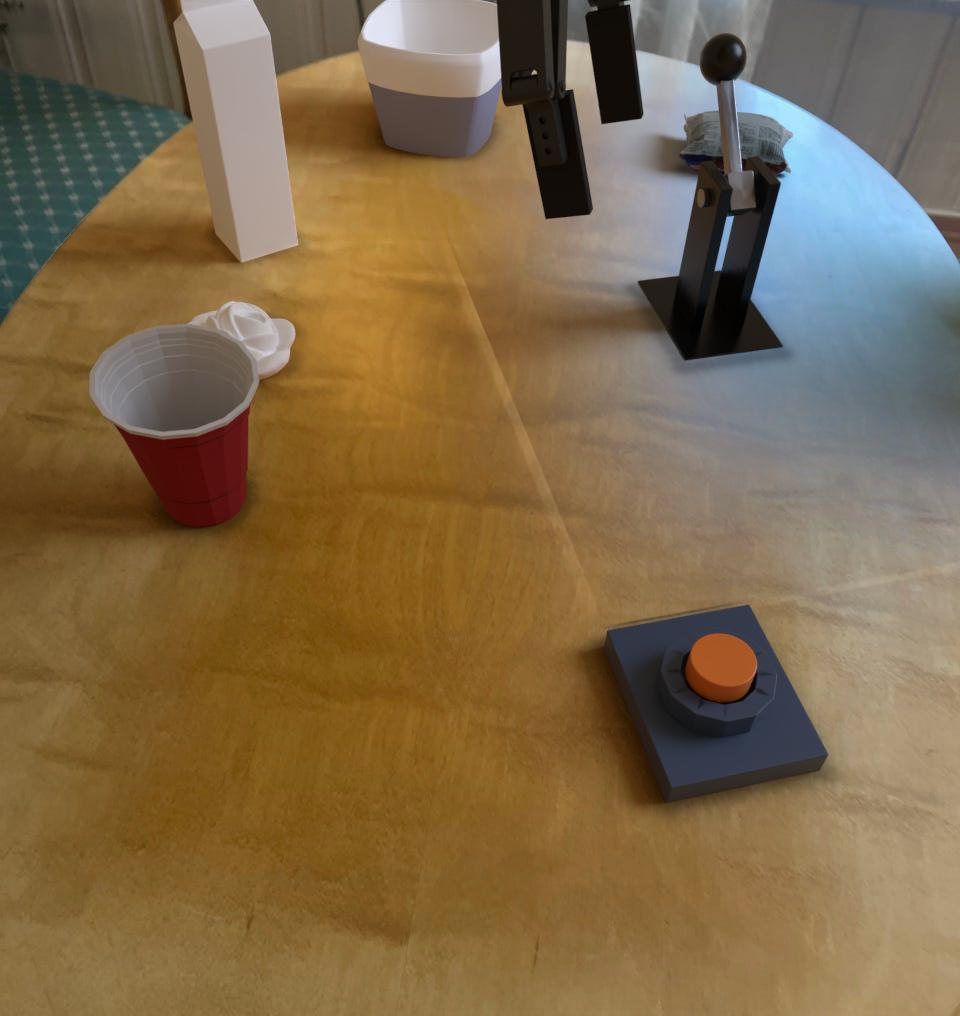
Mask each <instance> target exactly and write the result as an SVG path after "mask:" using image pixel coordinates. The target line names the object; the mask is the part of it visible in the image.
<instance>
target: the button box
mask: <svg viewBox="0 0 960 1016" xmlns="http://www.w3.org/2000/svg"><path fill="white" fill-rule="evenodd" d="M718 633H720V634H728V635H731V636H734V637H737V638H739V639H740V640H742V641H744V642H745V643H746V644H747V645H748V646H749V647H750V648H751V649H752V651H753V652H754V654H755V656H756V660H757V670H756V673H755V676H754V678H753V681H752V683H751V686H750V688H749V690H748V691H747V693H746V694H745V695H744V696H743V697H741V698H739V699H738V700H735V701H732V702H726V703H721V702H714V701H710V700H707V699H705V698H703V697H701V696H700V695H698V694H697V693H696V692H695V691H694V690H693V689H692V688H691V687H690V685H689V684H688V682H687V679H686V675H685V668H686V664H687V661H688V658H689V655H690V651H691V648H692V646H693V645H694V643H695V642H696V641H697V640H699V639H700V638H702V637H704V636H706V635H710V634H718ZM603 650H604V653H605V655H606V658H607V660H608V661H609V662H608V663H609V666H610V667H611V669H612V672H613V674H614V678H615V680H616V682H617V684H618V687H619V690H620V692H621V695H622V697H623V700H624V702H625V705H626V707H627V710H628V713H629V715H630V717H631V720H632V722H633V725H634V727H635V730H636V732H637V734H638V737H639V739H640V742H641V744H642V747H643V750H644V752H645V755H646V757H647V760H648V762H649V765H650V767H651V770H652V772H653V775H654V777H655V780H656V782H657V784H658V787H659V789H660V792H661V794H662V797H663V800H664V802H665V803H666V804H669V803H675V802H678V801H683V800H689V799H692V798H698V797H702V796H707V795H711V794H715V793H721V792H726V791H731V790H735V789H739V788H745V787H749V786H755V785H758V784H762V783H768V782H772V781H777V780H781V779H782V780H783V779H786V778H790V777H792V778H793V777H795V776H801V775H805V774H809V773H815V772H818V771H819V772H820V771H821V769H822V767H823V766H824V764H825V762H826V760H827V758H828V756H829V752H828V751H827V748H826V747H825V745H824V743H823V741H822V738H821V737H820V735H819V734H818V732H817V730H816V728H815V726H814V724H813V722H812V720H811V719H810V716H809V714H808V713H807V710H806V709H805V707H804V705H803V703H802V702H801V699H800V698H799V696H798V693H797V692H796V690H795V689H794V687H793V685H792V683H791V680H790V678H789V676H788V675H787V673H786V672H785V670H784V667H783V665H782V663H781V661H780V660H779V658H778V656H777V654H776V653H775V651H774V649H773V647H772V644H771V643H770V641H769V639H768V637H767V636H766V634H765V631H764V630H763V628H762V626H761V624H760V622H759V620H758V618H757V617H756V614H755V613H754V611H753V609H752V607H751V605H750V604H744V605H738V606H733V607H728V608H722V609H716V610H711V611H705V612H700V613H695V614H689V615H684V616H678V617H673V618H666V619H662V620H656V621H650V622H646V623H640V624H634V625H628V626H623V627H617V628H612V629H608V630H606V633H605V639H604V645H603Z"/></svg>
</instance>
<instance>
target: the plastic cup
mask: <svg viewBox="0 0 960 1016" xmlns="http://www.w3.org/2000/svg"><path fill="white" fill-rule="evenodd" d="M259 384H260V380H259V375H258V368H257V361H256V359H255V358H254V356H253V355H252V354H251V353H250V352H249V350H248V349H247V348H246V347H245V345H244V344H243V343H242V342H241V341H239V340H237V339H235V338H233V337H231V336H229V335H228V334H226V333H224V332H222V331H220V330H218V329H214V328H208V327H203V326H197V325H192V324H187V323H179V324H178V323H177V324H164V325H163V324H162V325H154V326H151V327H148V328H145V329H142V330H139V331H136V332H133V333H130V334H127V335H125V336H124V337H123V336H122V338H120V339H119V340H117V341H116V342H114V343H113V344H112V345H110V346H109V347H108V348H106V349H105V350H104V351H102V352H101V354H100V356H99V357H98V358H97V361H96V362H95V364H94V366H93V367H92V368H91V370H90V372H89V397H90V398H91V400H92V401H93V402H94V403H93V404H95V406H96V407H97V408H98V410H99V412H100V413H101V414H102V417H104V419H105V420H106V421H108V422H109V423H111V424H113V426H114V427H115V429H116V430H117V431H118V433H119V434H120V436H121V437H122V439H123V440H124V442H125V444H126V446H127V447H128V449H129V450H130V452H131V454H132V457H134V460H135V461H136V463H137V464H138V467H139V468H140V470H141V472H142V473H143V475H144V477H145V479H146V480H147V482H148V484H149V485H150V487H151V488H152V489H153V491H154V492H155V494H156V495H157V497H158V499H159V501H160V502H161V505H162V506H163V509H164V510H165V511H166V512H167V514H168V515H169V516H170V518H172V519H173V520H174V521H176V522H178V523H179V524H182V525H183V526H186V527H192V528H200V529H203V528H208V527H209V528H210V527H216V526H218V525H221V524H223V523H226V522H227V521H230V520H232V519H233V518H234V517H235V516H236V515H237V514H238V513H240V512H241V510H242V509H243V506H244V504H245V502H246V499H247V497H248V491H247V490H248V489H247V488H248V487H247V485H248V484H247V483H248V482H247V472H248V471H249V417H250V414H251V404H252V401H253V398H254V397H255V394H256V392H257V389H258V387H259V386H260V385H259Z"/></svg>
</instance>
